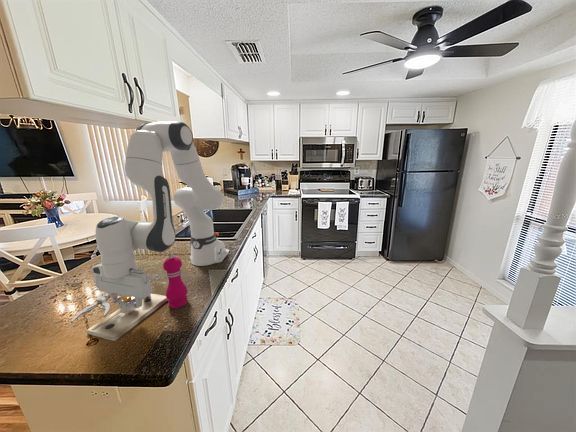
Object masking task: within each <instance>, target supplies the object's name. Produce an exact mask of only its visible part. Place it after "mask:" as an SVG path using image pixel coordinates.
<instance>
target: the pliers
mask: <svg viewBox="0 0 576 432" xmlns="http://www.w3.org/2000/svg"><path fill="white" fill-rule="evenodd" d="M109 298H110V296H109V294H108V292H106V294H103V292H100V293H99V295H98V296H97V298H96V301H95V302H94V303H92V304H91V305H88V306H87V307H84V308H83V309H82V310H80V311H79V312H77V313H76V314H75V315H74V316H73V317H72V319H71V320H70V323H74V322H75V321H76V320H77V319H78V318H79V317H81V315H83V314H85V313H87V312H91V311H92V310H93V309H96V306H97V305H98V304H101V305H102V306H104V307H102V306H100V305H98V307H99V308H100V309H102V310H104V313H103V315H102V316H103V317H106V315H108V313H109V312H110V309H111V305H110V303H109V302H107V300H108V299H109Z"/></svg>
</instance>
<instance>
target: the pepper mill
mask: <svg viewBox="0 0 576 432" xmlns="http://www.w3.org/2000/svg"><path fill="white" fill-rule="evenodd" d="M182 267H183V263H182V260H181V259H180V258H179V257H177V256H175V254H174V253H170V254H169V255H168V258H166V259H165V260H164V262H163V270H164V271H165V274H166V277H167V278H168V284H167V287H166V290H165V291H166V292H165V296H166V298H167V299H168V306H169V307H170V308H172V309H178V308H181V307H183V306H186V304H187V303H188V296H187V295H188V293H189V292H188V287H187V286H186V284H185V283H184V281H183V280H182V276H181V274H182V272H183V271H182Z"/></svg>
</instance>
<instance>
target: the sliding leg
mask: <svg viewBox="0 0 576 432" xmlns="http://www.w3.org/2000/svg"><path fill="white" fill-rule="evenodd" d="M135 302H136V299H135V297H130V296H124V297H123V298H122V299H121V301H120V302H118V306H119V309H120V311H121V313H125V314H129V313H130V312H132V311H133V310H134V309H136V307H134V303H135Z"/></svg>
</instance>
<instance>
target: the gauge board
mask: <svg viewBox="0 0 576 432" xmlns="http://www.w3.org/2000/svg"><path fill="white" fill-rule="evenodd" d="M166 302H169V300H168V299H167V298H166V295H163V294H162V295H161V294H158V293H157V294H156V293H153V292H152V293H151V298H150V299H149V300H148V301H146V300H144V299H143V300H142V306H141V307H139V308H136V309H134V310H133V311H132V312H130V313H129V314H125V313H121V311H120V308H118V309H117V310H116V311H114V312H112V313H110V314H109V315H107V316H105V318H103V319H102V320H100V321H98V322H97V323H95V324H94V325H92V326H90V327H89V328H88V329H86V332H87V334H88V335H90V336H94V337H97V338H102V339H105V340H108V341H113V342H116V341H117V340H118V339H120V338H121V337H122V336H124V335H125V334H126V333H127V332H129V331H130V330H132V329H133V328H134V327H136V325H138V324H139V323H141V322H142V321H143V320H145V319H146V318H147V317H148V316H150V315H151V314H152V313H153V312H155V311H156V310H158V309H159V308H160V307H162V306H163V305H164V304H165V303H166Z"/></svg>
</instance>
